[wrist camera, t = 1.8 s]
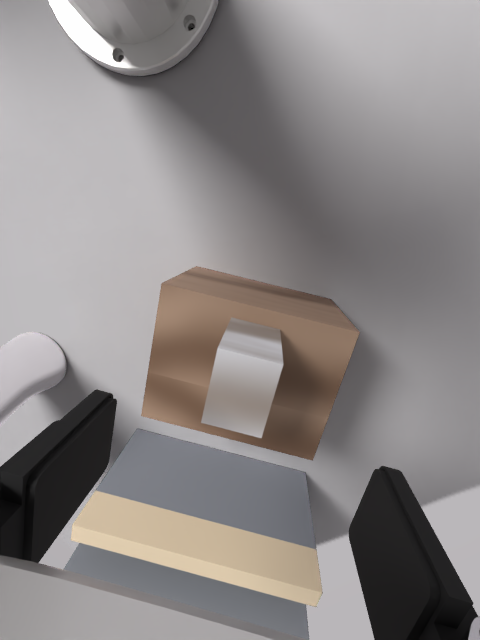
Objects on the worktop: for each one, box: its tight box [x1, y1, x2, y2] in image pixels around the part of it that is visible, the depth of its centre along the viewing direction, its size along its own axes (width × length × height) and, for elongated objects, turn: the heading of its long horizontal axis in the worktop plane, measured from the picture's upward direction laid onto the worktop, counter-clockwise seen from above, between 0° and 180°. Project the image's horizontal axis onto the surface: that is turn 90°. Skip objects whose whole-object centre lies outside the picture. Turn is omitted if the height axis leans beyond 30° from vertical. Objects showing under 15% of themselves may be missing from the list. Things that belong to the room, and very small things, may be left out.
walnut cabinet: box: [141, 266, 360, 460], centre depth 21 cm, size 9×12×14 cm
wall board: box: [63, 429, 322, 640], centre depth 22 cm, size 6×18×22 cm, turn 77°
